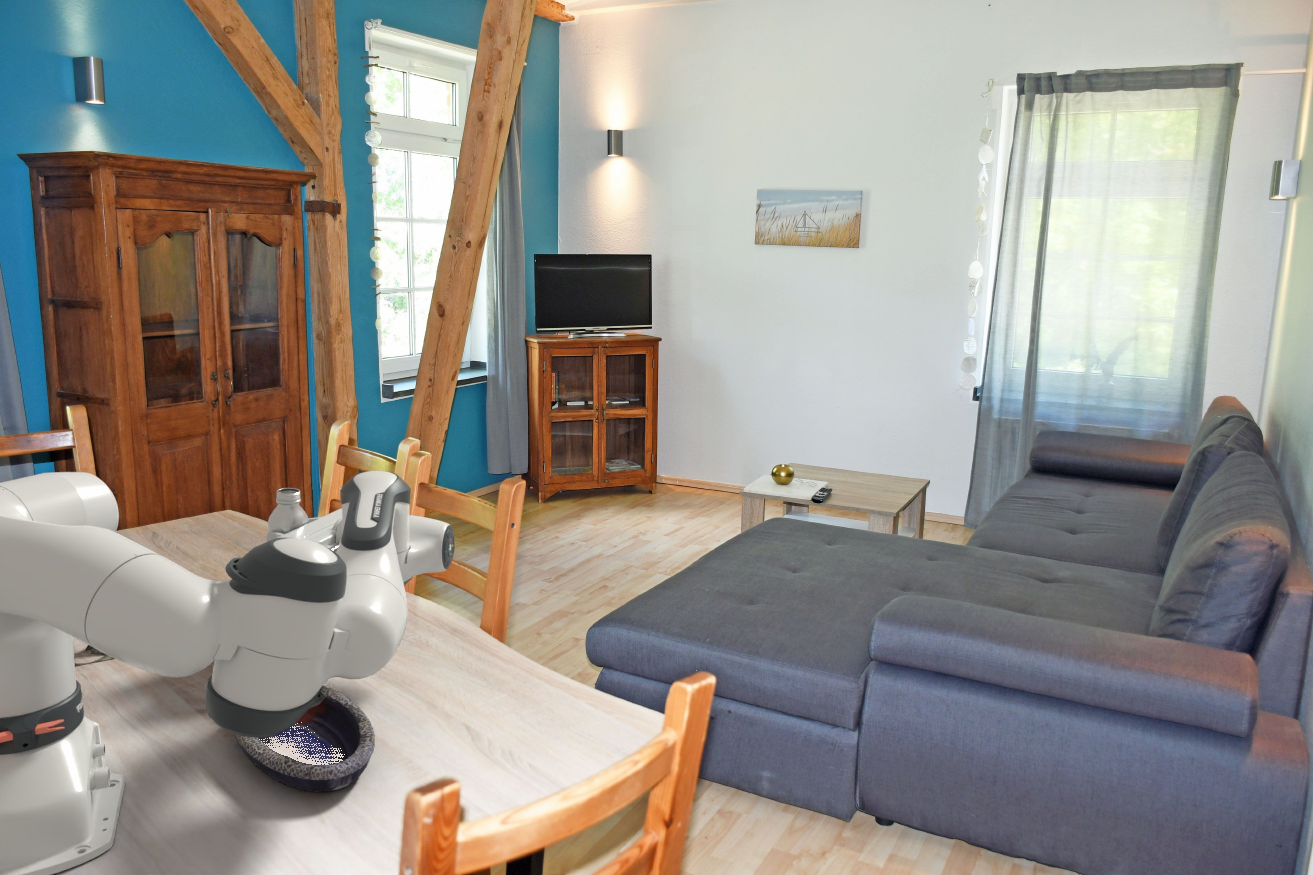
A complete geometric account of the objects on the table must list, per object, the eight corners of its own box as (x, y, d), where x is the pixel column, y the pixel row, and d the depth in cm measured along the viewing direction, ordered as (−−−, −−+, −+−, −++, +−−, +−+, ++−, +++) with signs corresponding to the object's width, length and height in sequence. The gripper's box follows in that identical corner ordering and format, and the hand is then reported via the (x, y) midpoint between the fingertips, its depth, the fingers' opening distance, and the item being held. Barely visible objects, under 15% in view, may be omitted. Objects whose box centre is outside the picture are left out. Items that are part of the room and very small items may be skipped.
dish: (278, 823, 112) (276, 784, 111) (209, 718, 136) (207, 685, 135) (405, 780, 122) (404, 744, 121) (320, 689, 145) (318, 658, 144)
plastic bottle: (275, 617, 156) (274, 498, 152) (263, 603, 162) (261, 487, 158) (316, 610, 160) (315, 493, 156) (302, 596, 166) (301, 483, 161)
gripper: (323, 577, 146) (243, 568, 149) (392, 538, 166) (320, 531, 169) (321, 537, 145) (241, 529, 148) (390, 503, 164) (318, 496, 168)
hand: (283, 530), depth 159 cm, fingers closed on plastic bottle, 6 cm apart
